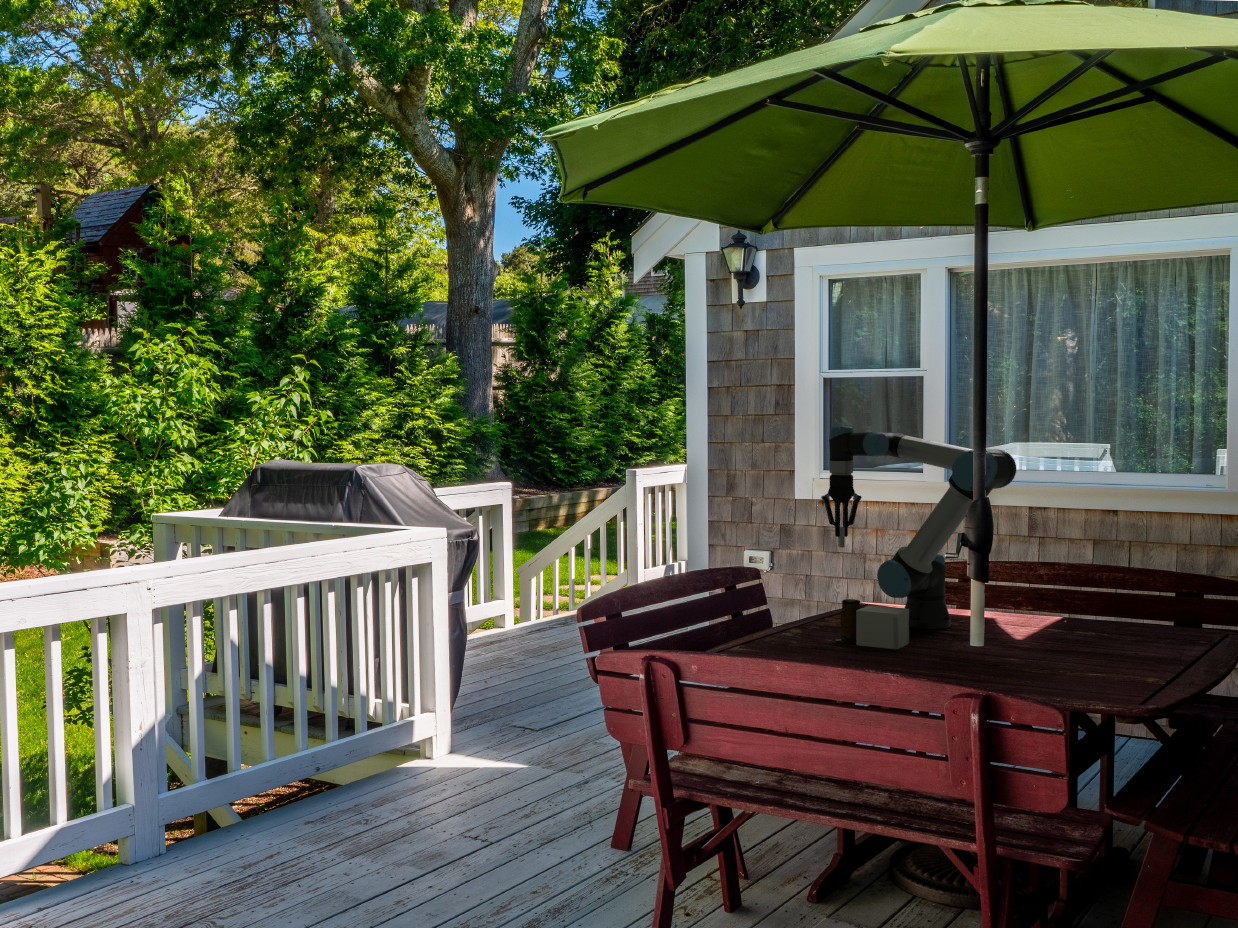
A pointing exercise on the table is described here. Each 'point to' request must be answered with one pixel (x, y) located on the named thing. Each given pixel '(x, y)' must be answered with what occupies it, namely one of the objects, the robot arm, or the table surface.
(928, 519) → the robot arm
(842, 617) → the condiment
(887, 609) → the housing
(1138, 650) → the table surface
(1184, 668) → the table surface
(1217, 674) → the table surface
